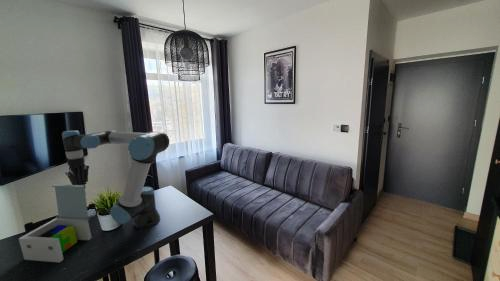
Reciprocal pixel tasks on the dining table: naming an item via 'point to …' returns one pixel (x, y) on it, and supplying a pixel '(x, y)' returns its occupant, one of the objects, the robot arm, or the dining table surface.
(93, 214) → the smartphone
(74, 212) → the lid
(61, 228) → the puzzle toy
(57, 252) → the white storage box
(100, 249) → the dining table surface
